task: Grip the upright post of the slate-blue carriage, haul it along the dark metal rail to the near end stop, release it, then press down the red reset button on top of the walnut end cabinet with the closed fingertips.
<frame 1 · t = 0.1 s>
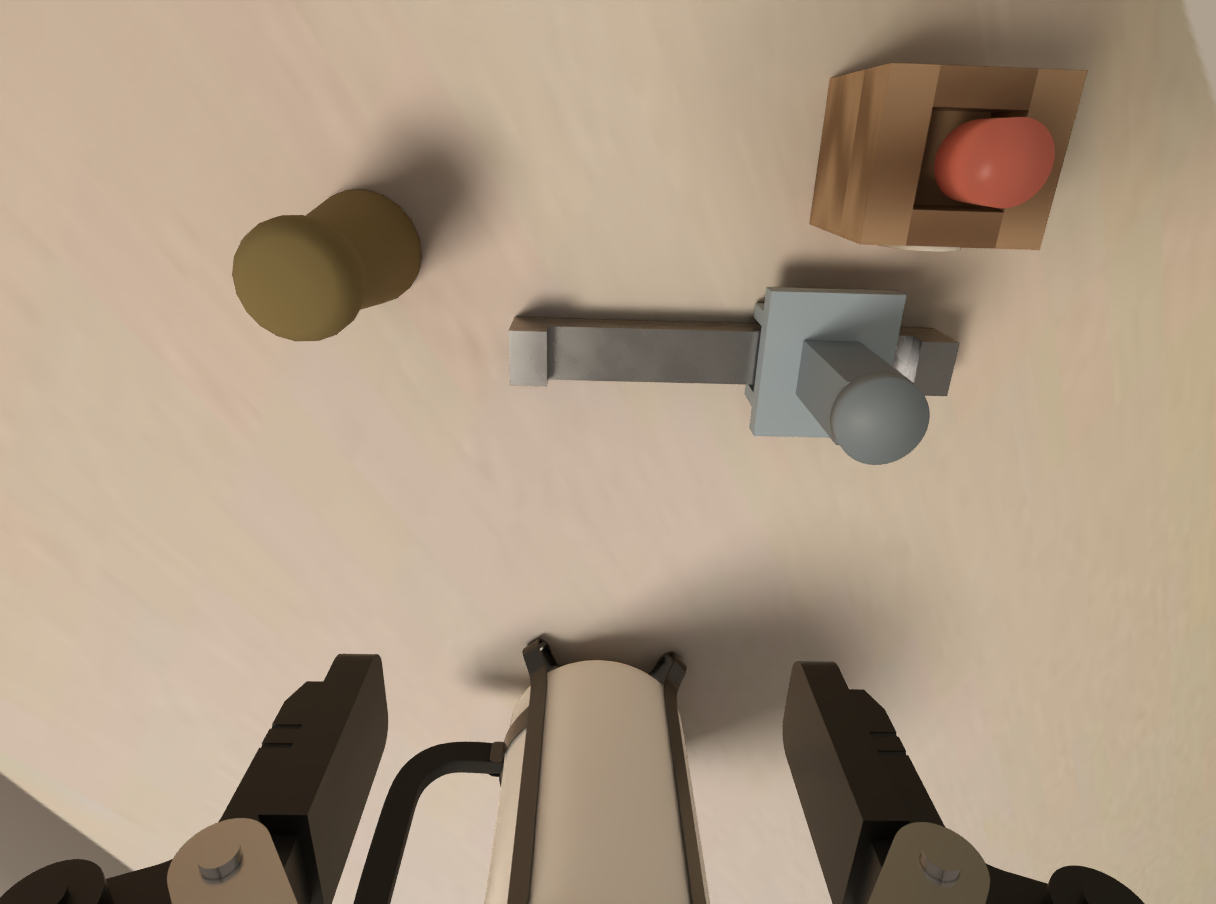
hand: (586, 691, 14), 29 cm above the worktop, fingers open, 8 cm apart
coffee press: (577, 704, 52), on the worktop
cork: (366, 248, 39), on the worktop
reset button: (991, 162, 28), point 10 cm above the worktop, slide at 0.0 cm
carriage: (841, 382, 36), point 6 cm above the worktop, slide at 10.0 cm
cabinet: (895, 156, 37), on the worktop
rail: (723, 348, 41), on the worktop
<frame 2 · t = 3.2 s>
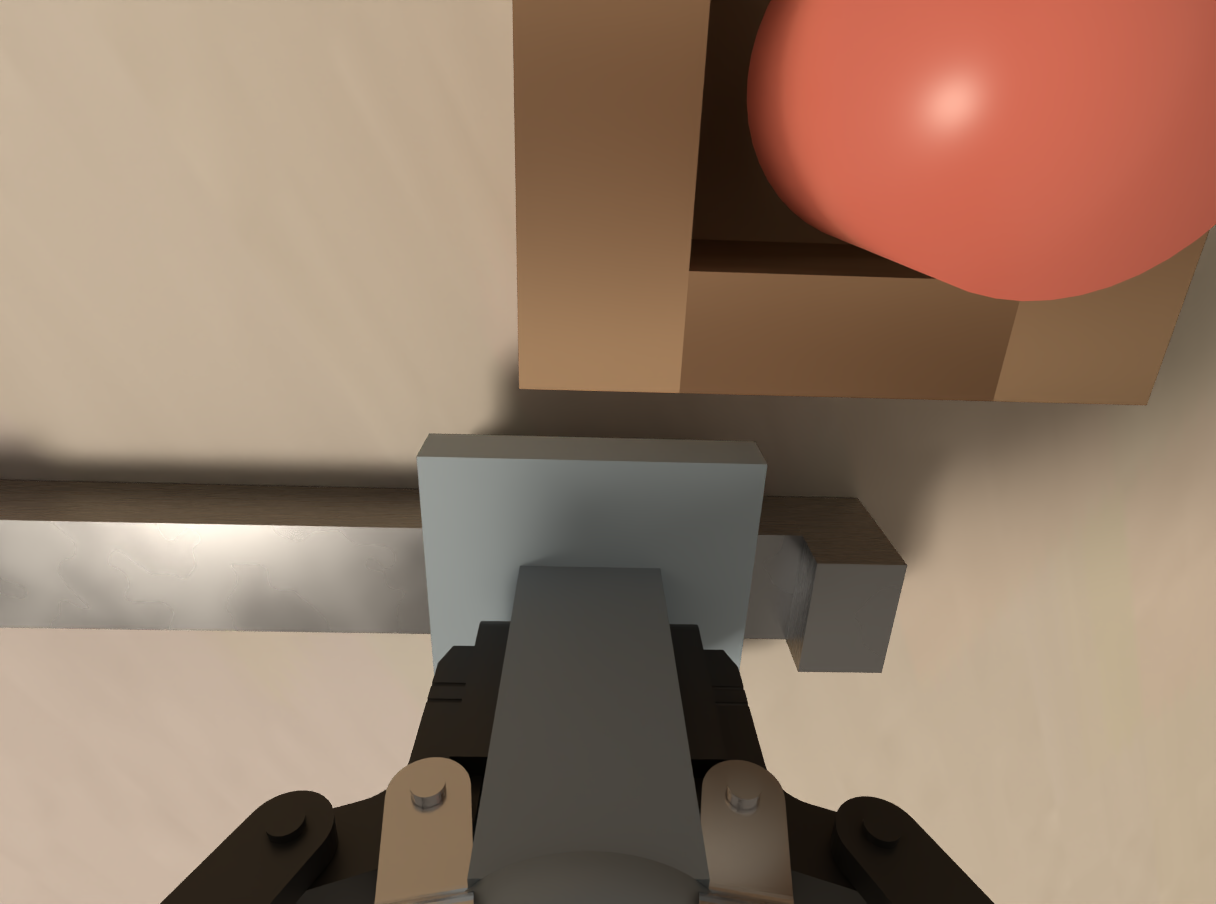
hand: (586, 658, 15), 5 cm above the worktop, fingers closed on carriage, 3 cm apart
reset button: (974, 71, 6), point 10 cm above the worktop, slide at 0.0 cm
carriage: (588, 701, 14), point 6 cm above the worktop, slide at 10.0 cm, touching gripper
cabinet: (744, 111, 15), on the worktop
rail: (399, 539, 19), on the worktop
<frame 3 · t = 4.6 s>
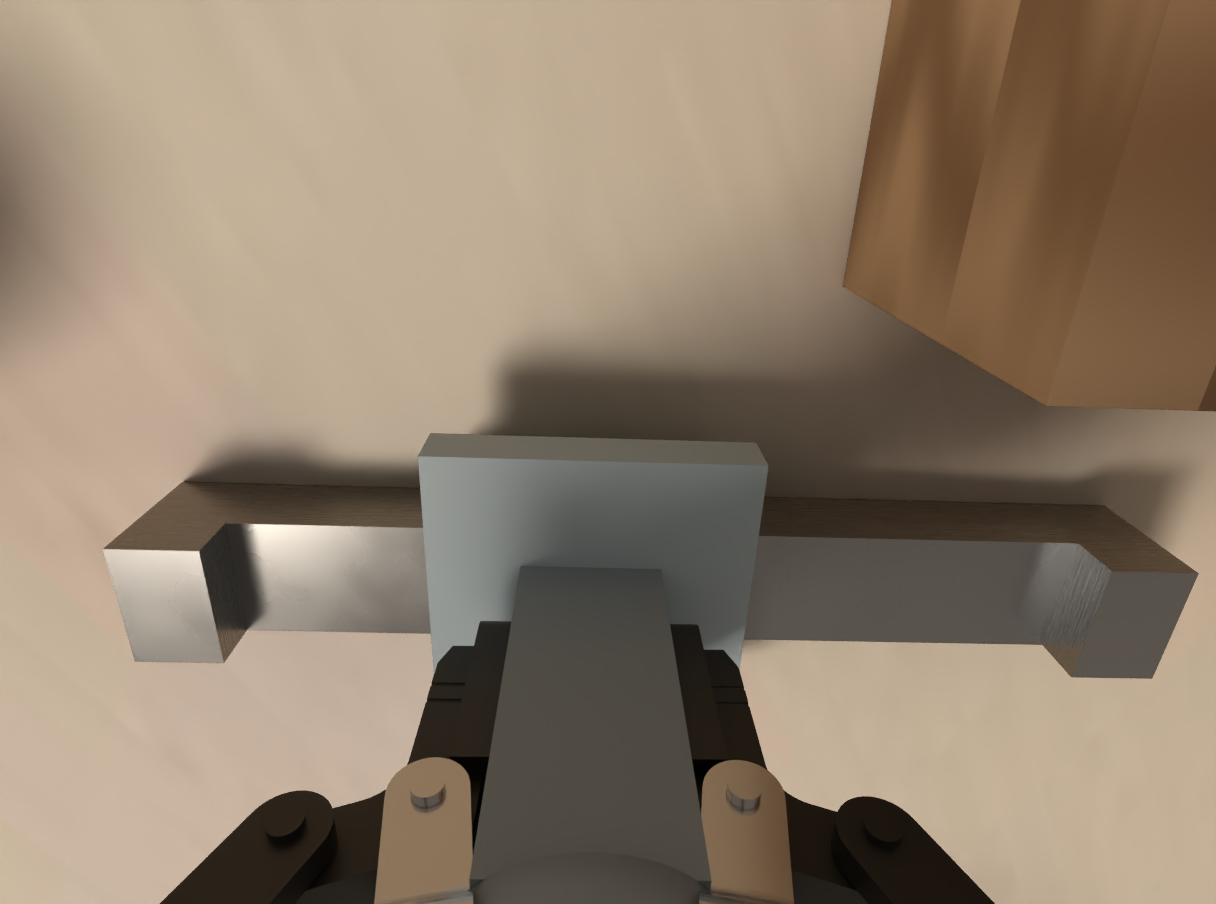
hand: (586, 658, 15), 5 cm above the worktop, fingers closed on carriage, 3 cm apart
carriage: (588, 701, 14), point 6 cm above the worktop, slide at 3.3 cm, touching gripper
cabinet: (1057, 127, 15), on the worktop
rail: (650, 544, 19), on the worktop
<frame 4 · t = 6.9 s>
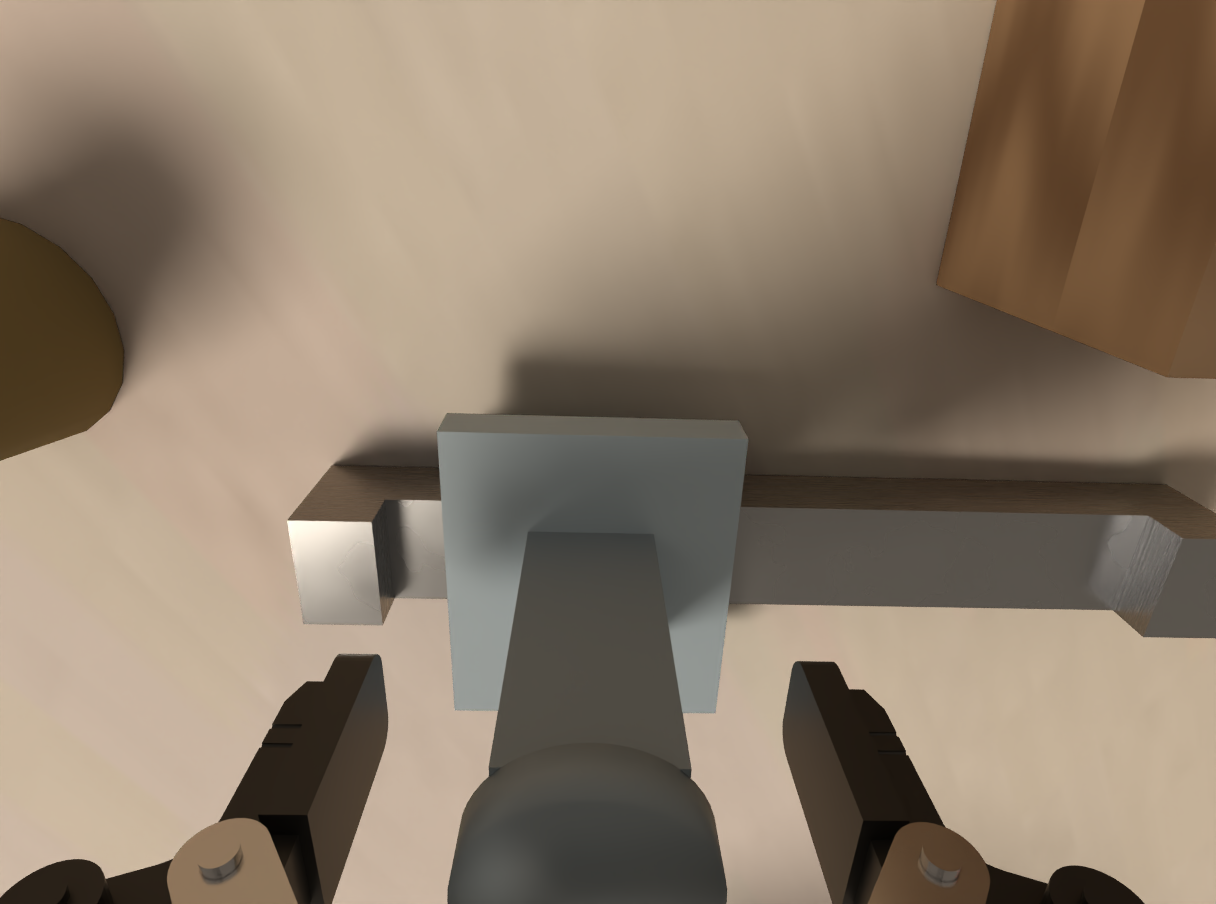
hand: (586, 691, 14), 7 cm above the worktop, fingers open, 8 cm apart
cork: (7, 332, 19), on the worktop
carriage: (589, 647, 15), point 6 cm above the worktop, slide at 0.3 cm
cabinet: (1131, 142, 17), on the worktop
rail: (750, 521, 21), on the worktop
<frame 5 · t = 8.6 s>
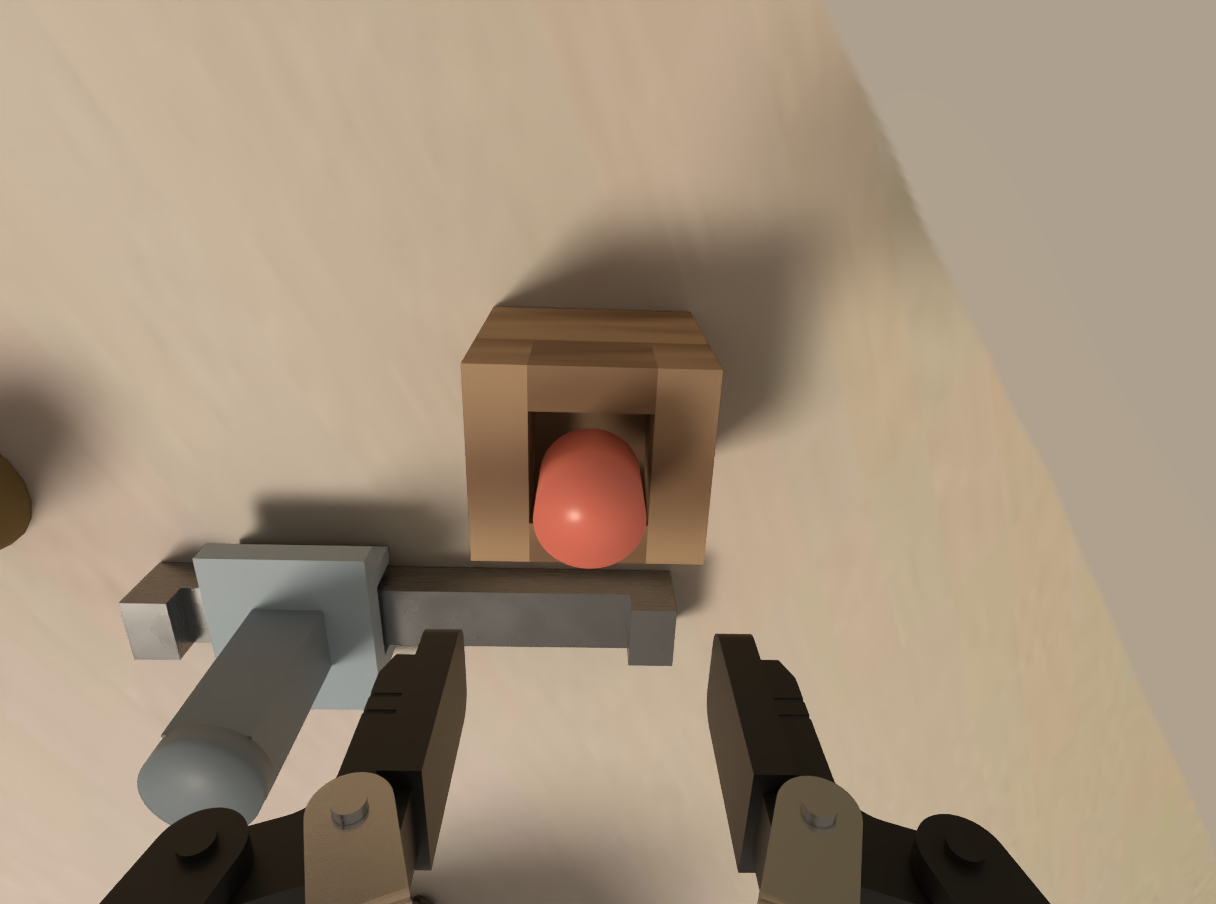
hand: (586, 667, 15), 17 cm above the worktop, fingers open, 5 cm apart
reset button: (590, 496, 21), point 10 cm above the worktop, slide at 0.0 cm
carriage: (270, 675, 29), point 6 cm above the worktop, slide at 0.3 cm
cabinet: (590, 390, 30), on the worktop
rail: (419, 593, 34), on the worktop
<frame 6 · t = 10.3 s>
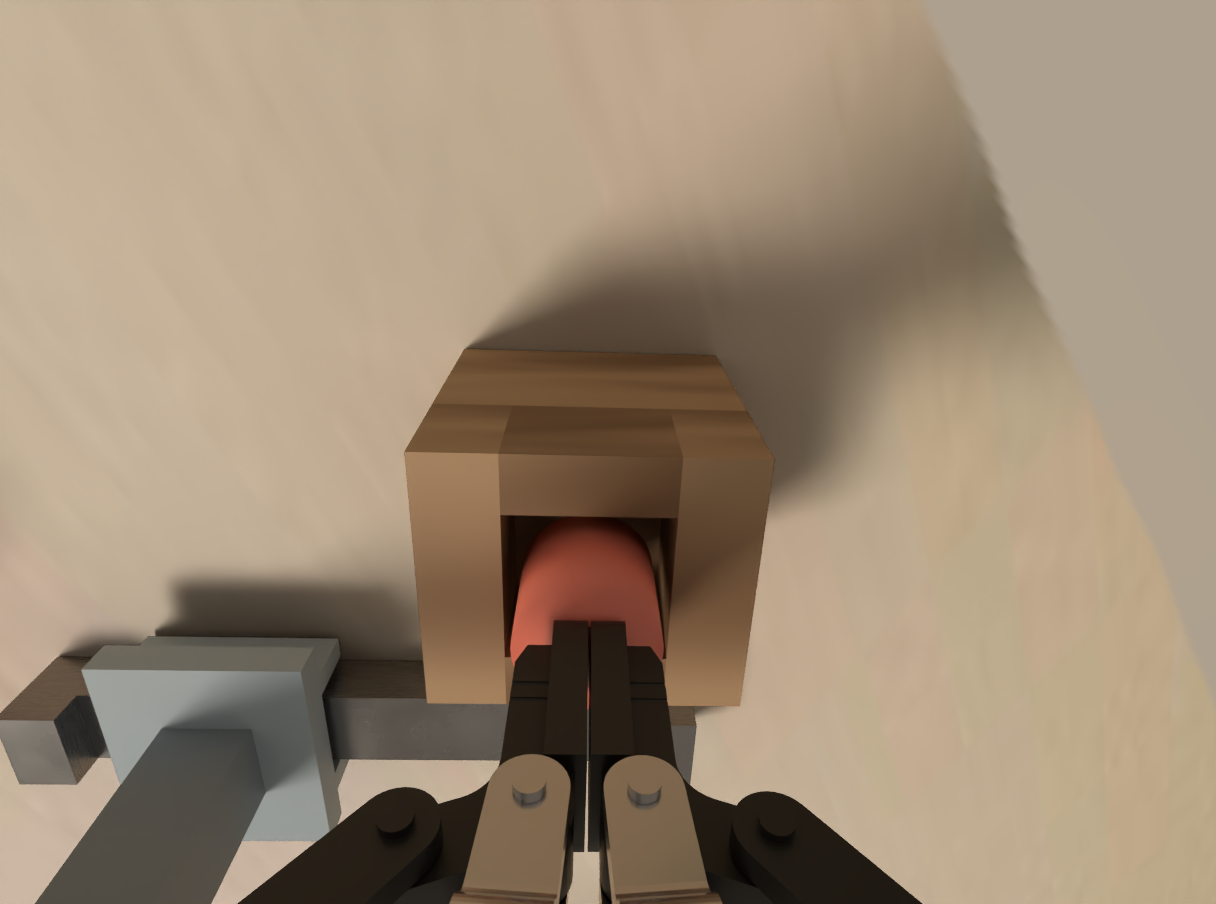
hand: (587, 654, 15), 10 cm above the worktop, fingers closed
reset button: (587, 606, 16), point 9 cm above the worktop, slide at 1.2 cm, touching gripper
carriage: (179, 820, 23), point 6 cm above the worktop, slide at 0.3 cm
cabinet: (588, 452, 24), on the worktop
rail: (379, 690, 28), on the worktop
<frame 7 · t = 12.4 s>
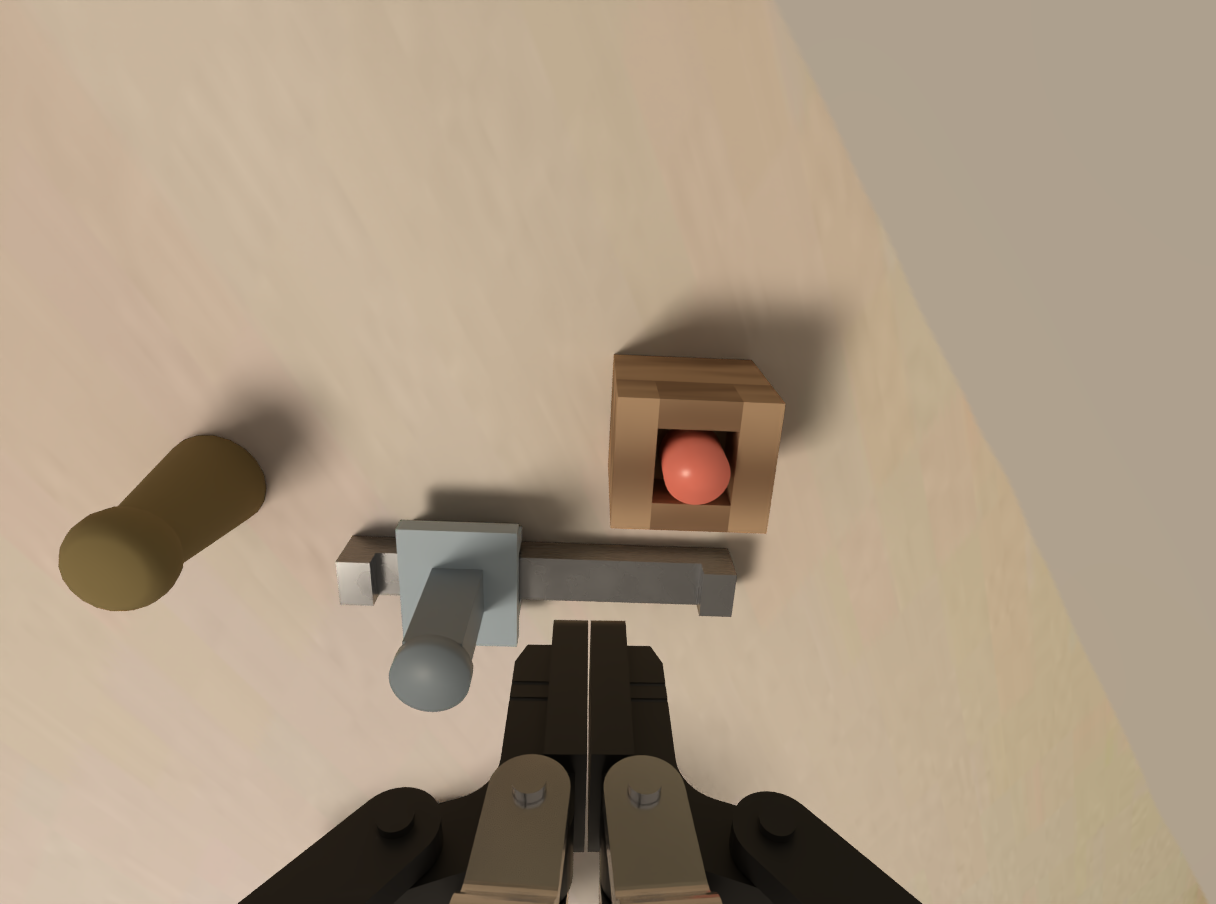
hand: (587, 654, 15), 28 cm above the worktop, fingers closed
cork: (217, 479, 44), on the worktop
reset button: (693, 462, 36), point 7 cm above the worktop, slide at 2.5 cm
carriage: (450, 613, 41), point 6 cm above the worktop, slide at 0.3 cm
cabinet: (677, 414, 42), on the worktop
rail: (541, 562, 46), on the worktop
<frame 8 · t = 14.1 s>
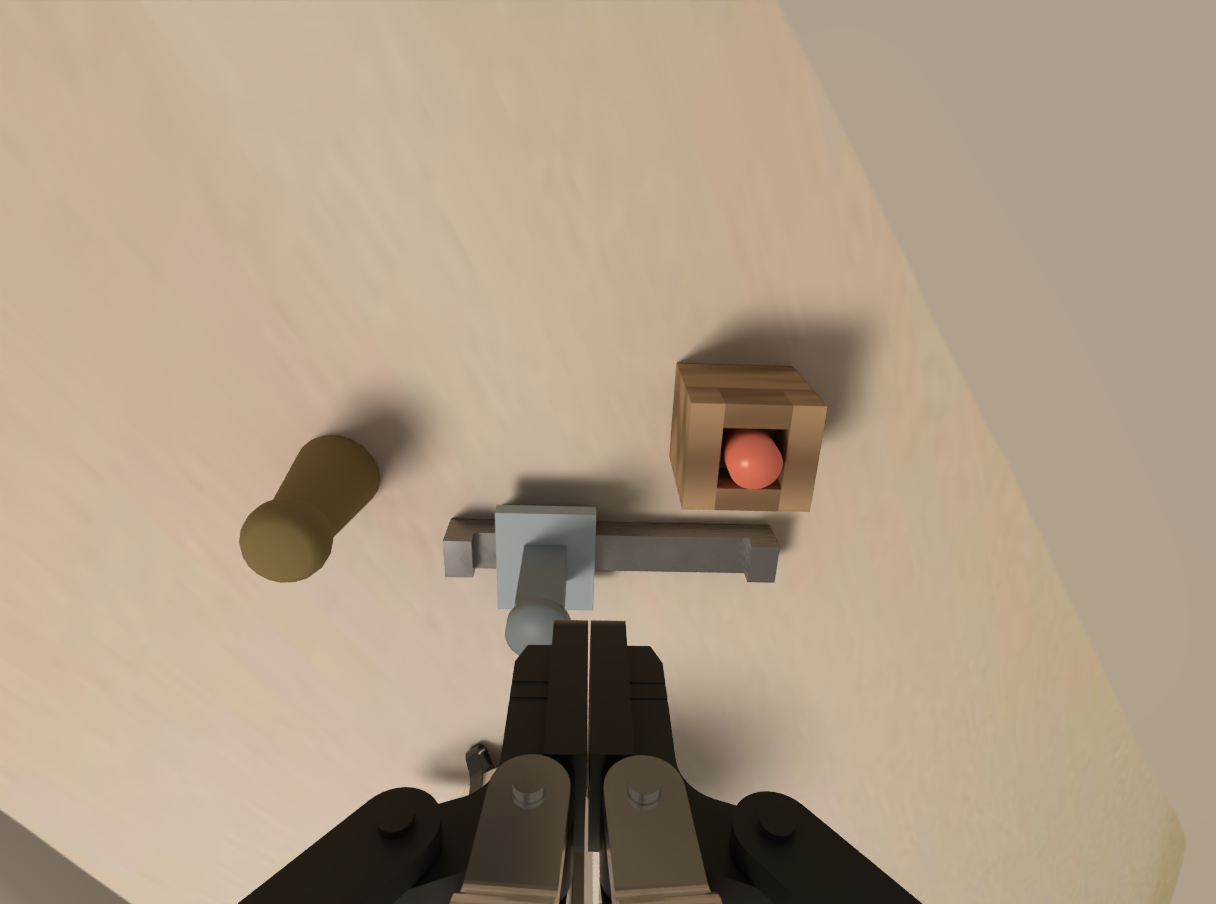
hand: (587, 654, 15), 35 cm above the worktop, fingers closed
coffee press: (512, 792, 65), on the worktop
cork: (338, 472, 52), on the worktop
reset button: (750, 454, 44), point 7 cm above the worktop, slide at 2.5 cm
carriage: (543, 582, 49), point 6 cm above the worktop, slide at 0.3 cm
cabinet: (729, 412, 50), on the worktop
rail: (610, 539, 54), on the worktop
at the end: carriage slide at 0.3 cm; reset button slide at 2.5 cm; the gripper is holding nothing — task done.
